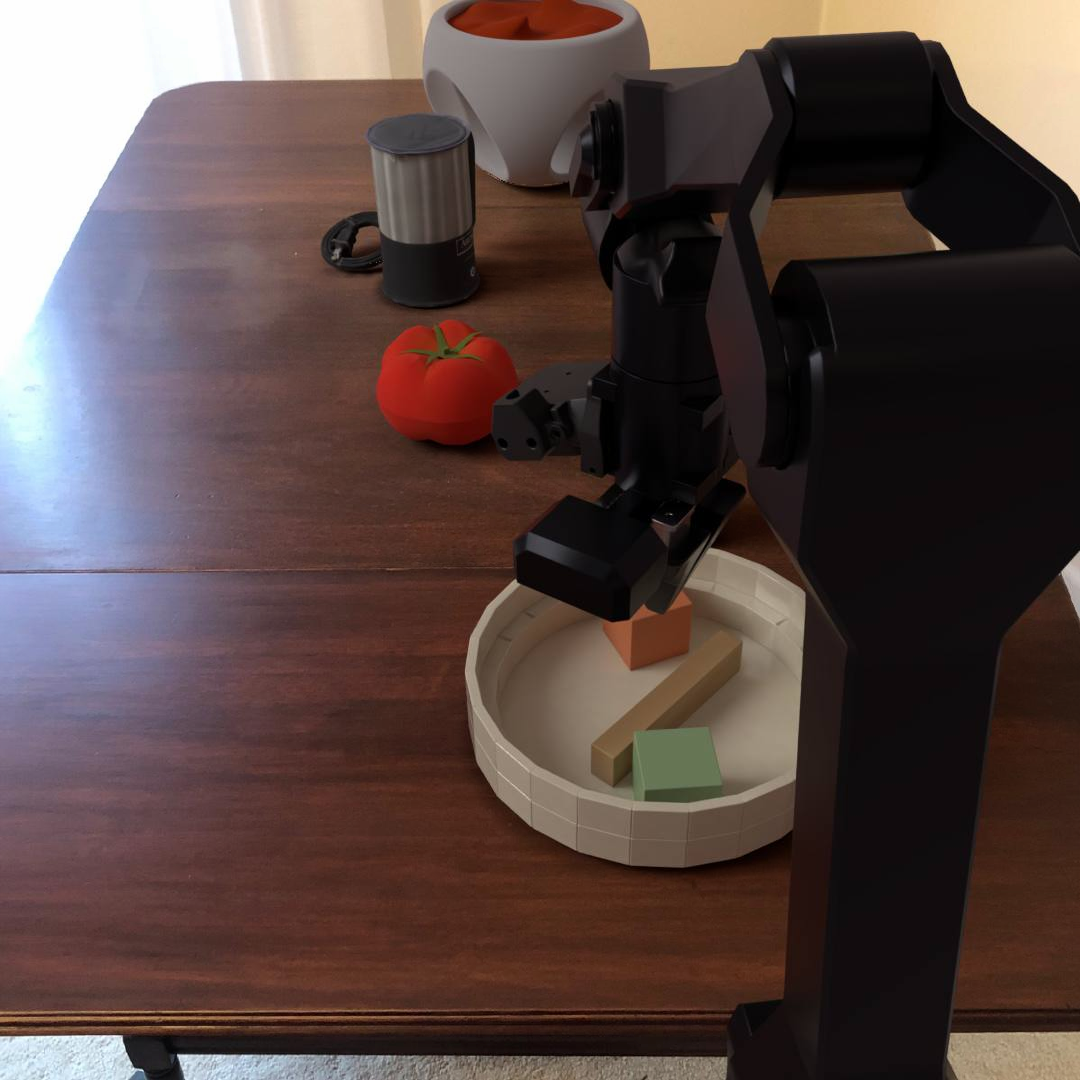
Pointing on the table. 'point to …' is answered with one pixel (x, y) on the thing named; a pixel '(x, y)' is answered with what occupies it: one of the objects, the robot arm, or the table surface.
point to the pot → (528, 76)
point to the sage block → (675, 766)
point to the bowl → (612, 690)
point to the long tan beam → (667, 704)
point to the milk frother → (417, 211)
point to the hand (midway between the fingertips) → (658, 608)
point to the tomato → (443, 383)
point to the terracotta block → (652, 634)
